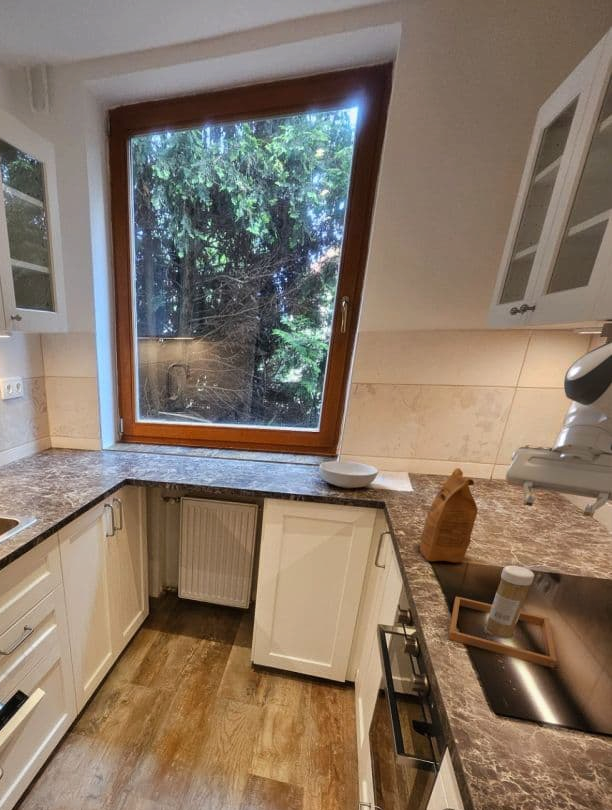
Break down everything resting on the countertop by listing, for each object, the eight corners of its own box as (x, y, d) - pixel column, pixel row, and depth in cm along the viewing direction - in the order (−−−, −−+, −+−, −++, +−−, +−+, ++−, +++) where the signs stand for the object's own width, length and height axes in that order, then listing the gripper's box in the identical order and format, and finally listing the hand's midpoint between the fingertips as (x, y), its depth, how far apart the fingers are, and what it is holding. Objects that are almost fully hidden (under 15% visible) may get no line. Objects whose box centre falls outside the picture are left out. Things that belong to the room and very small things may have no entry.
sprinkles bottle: (517, 636, 88) (540, 573, 83) (501, 643, 86) (525, 578, 81) (492, 624, 92) (513, 562, 86) (477, 630, 90) (498, 567, 85)
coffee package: (456, 548, 126) (479, 468, 117) (466, 567, 116) (492, 481, 107) (415, 543, 129) (434, 464, 120) (421, 562, 119) (442, 477, 110)
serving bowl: (368, 496, 168) (372, 477, 165) (310, 487, 178) (312, 469, 175) (379, 482, 183) (383, 465, 181) (325, 474, 194) (328, 458, 191)
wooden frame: (544, 629, 91) (549, 618, 90) (551, 673, 80) (556, 660, 78) (452, 606, 99) (455, 596, 98) (446, 643, 87) (450, 632, 86)
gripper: (518, 435, 99) (495, 490, 96) (653, 448, 86) (630, 512, 83) (515, 453, 103) (494, 506, 101) (643, 468, 91) (621, 529, 88)
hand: (557, 509), depth 92 cm, fingers open, 8 cm apart
